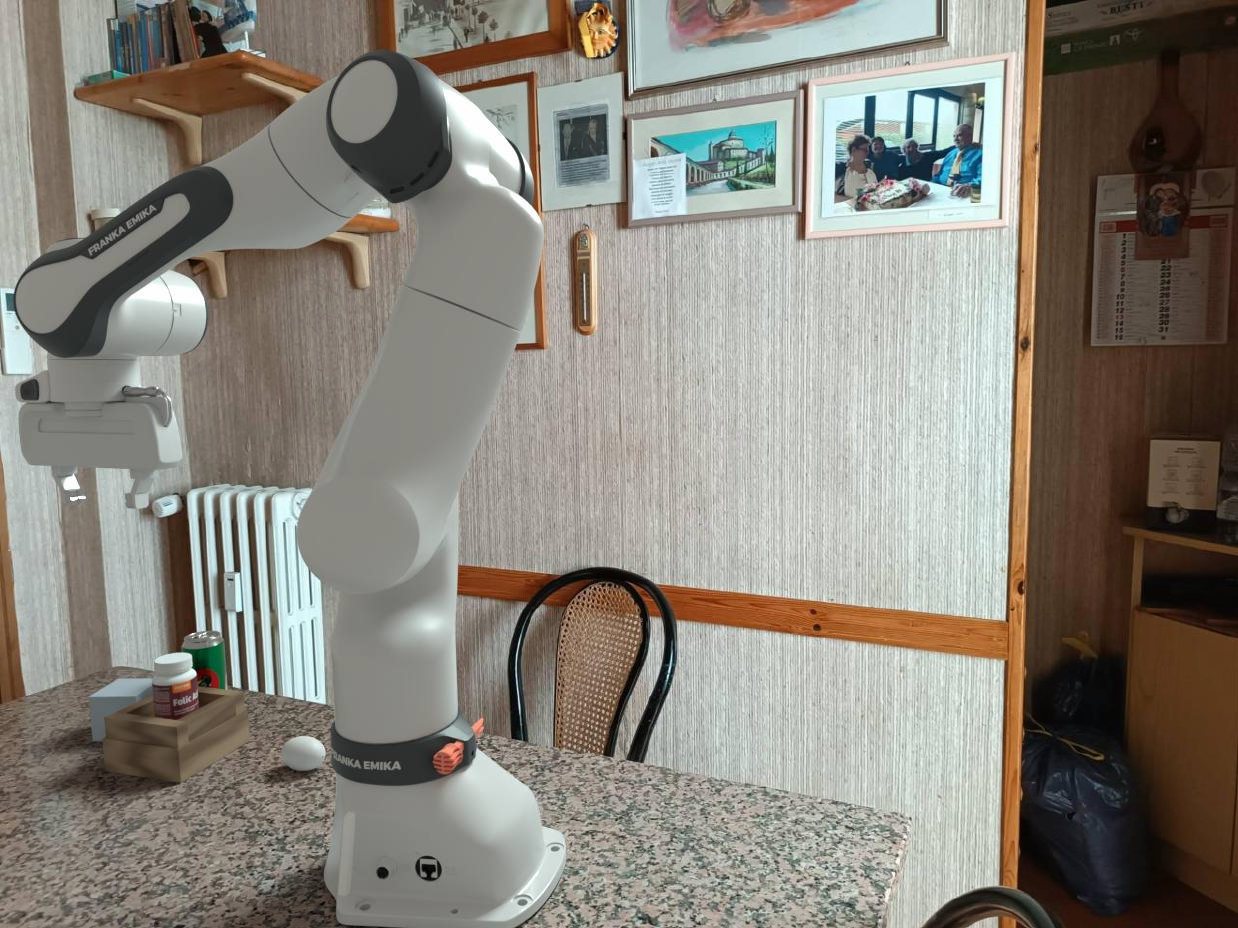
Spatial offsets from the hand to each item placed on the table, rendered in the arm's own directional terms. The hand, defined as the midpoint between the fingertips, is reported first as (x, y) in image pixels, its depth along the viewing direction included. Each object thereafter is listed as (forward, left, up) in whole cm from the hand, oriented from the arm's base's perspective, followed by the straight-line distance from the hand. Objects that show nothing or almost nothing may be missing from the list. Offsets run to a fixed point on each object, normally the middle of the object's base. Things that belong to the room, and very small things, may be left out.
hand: (105, 506), depth 92 cm
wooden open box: (-5, -3, -31) cm, 32 cm away
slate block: (+7, -7, -31) cm, 33 cm away
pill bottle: (-5, -3, -27) cm, 28 cm away
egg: (-22, -4, -32) cm, 38 cm away
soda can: (-1, -12, -31) cm, 34 cm away
